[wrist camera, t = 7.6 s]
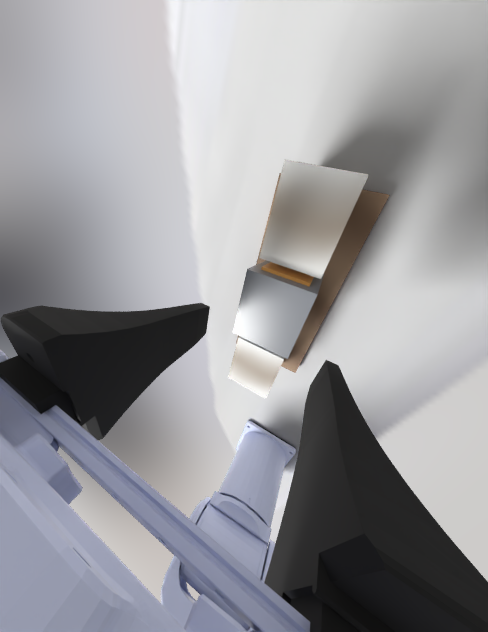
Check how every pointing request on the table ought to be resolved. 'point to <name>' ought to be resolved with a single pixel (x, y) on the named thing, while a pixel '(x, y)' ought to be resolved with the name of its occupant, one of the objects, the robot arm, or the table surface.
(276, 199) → the cream blocky elongated piece
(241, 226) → the table surface
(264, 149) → the table surface
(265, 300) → the block
